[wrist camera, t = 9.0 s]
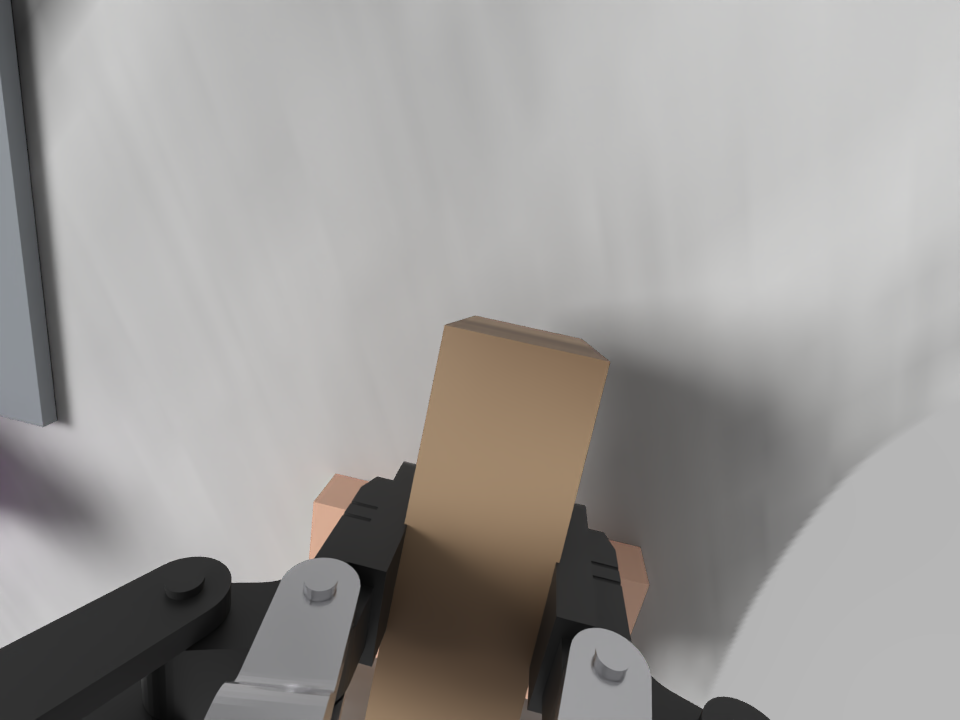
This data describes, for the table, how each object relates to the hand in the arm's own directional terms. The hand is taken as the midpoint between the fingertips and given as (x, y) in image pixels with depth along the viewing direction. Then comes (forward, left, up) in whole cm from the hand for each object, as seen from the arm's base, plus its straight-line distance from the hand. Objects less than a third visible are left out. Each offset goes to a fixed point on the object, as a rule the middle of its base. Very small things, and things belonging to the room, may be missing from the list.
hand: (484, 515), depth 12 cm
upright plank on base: (+2, 0, -2) cm, 3 cm away
